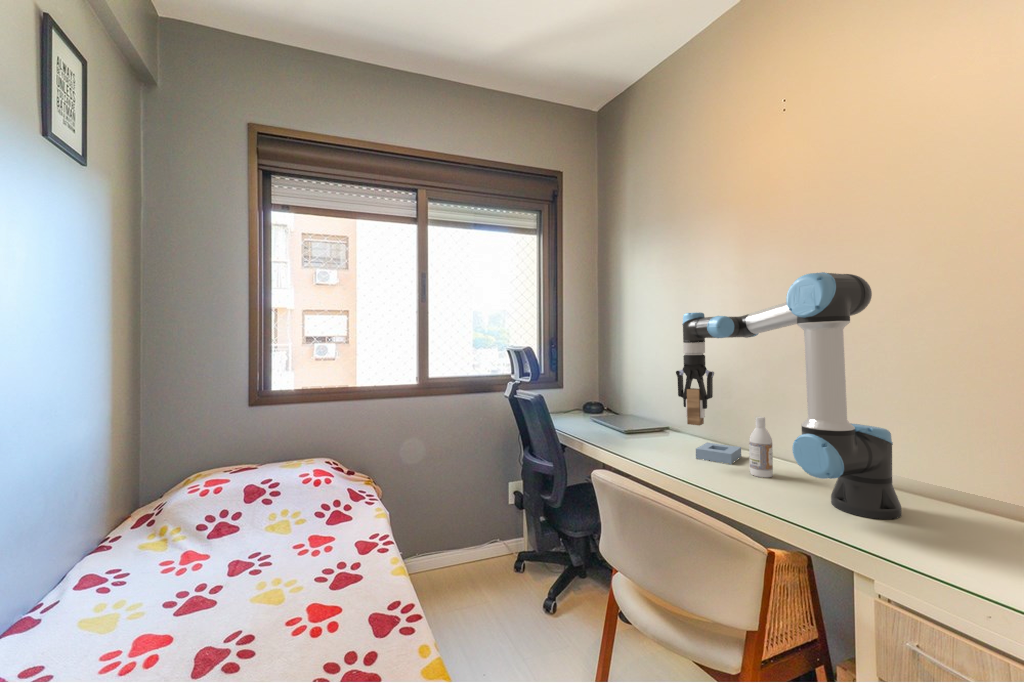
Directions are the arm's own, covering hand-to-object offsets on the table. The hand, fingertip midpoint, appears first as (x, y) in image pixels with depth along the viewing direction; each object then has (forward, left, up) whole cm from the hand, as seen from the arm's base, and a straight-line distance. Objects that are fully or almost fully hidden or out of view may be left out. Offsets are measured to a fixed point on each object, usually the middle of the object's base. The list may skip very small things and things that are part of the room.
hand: (695, 416), depth 164 cm
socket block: (+16, -3, -18) cm, 25 cm away
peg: (0, 0, -3) cm, 3 cm away
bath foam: (+3, -21, -19) cm, 28 cm away
